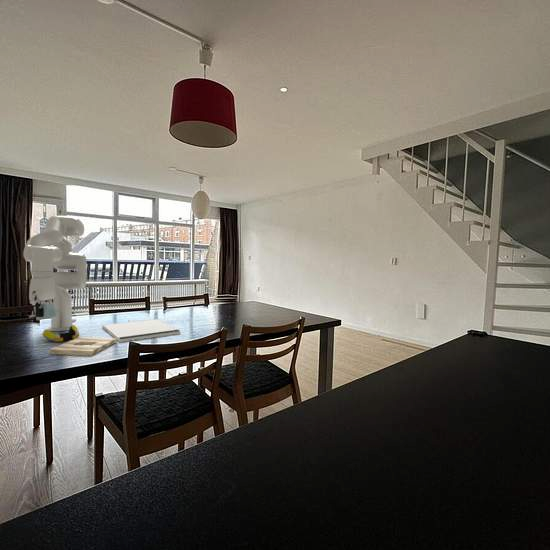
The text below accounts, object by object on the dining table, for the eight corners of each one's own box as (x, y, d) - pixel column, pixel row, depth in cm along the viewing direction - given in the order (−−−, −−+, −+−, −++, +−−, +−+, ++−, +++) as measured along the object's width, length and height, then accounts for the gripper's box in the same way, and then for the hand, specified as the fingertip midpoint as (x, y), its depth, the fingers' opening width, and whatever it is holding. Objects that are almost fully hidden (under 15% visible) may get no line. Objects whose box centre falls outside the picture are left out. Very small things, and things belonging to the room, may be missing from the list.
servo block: (37, 320, 143) (33, 305, 143) (62, 314, 143) (58, 299, 143) (30, 322, 140) (26, 306, 139) (56, 316, 139) (52, 300, 139)
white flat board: (180, 330, 175) (119, 338, 155) (180, 334, 175) (119, 343, 155) (156, 319, 201) (102, 324, 181) (156, 322, 202) (102, 329, 181)
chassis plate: (80, 340, 155) (80, 336, 155) (116, 342, 154) (116, 338, 154) (50, 353, 135) (49, 349, 135) (91, 355, 134) (91, 351, 134)
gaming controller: (41, 340, 153) (50, 344, 148) (41, 329, 153) (50, 333, 148) (74, 334, 166) (84, 338, 160) (74, 324, 166) (84, 327, 160)
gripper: (48, 273, 148) (49, 311, 150) (18, 275, 132) (19, 319, 133) (64, 273, 148) (64, 312, 149) (36, 276, 131) (37, 320, 133)
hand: (43, 315), depth 141 cm, fingers closed on servo block, 3 cm apart
